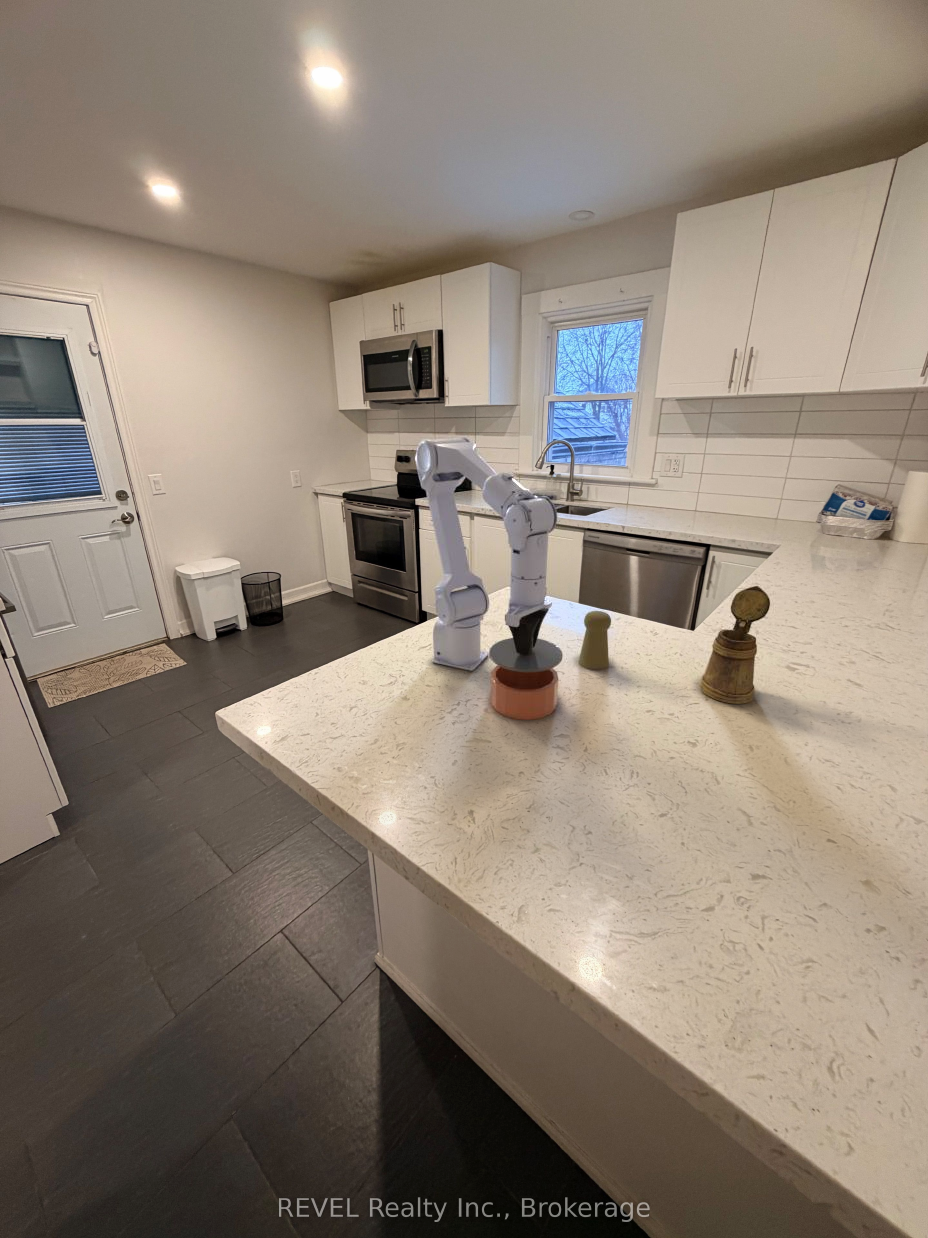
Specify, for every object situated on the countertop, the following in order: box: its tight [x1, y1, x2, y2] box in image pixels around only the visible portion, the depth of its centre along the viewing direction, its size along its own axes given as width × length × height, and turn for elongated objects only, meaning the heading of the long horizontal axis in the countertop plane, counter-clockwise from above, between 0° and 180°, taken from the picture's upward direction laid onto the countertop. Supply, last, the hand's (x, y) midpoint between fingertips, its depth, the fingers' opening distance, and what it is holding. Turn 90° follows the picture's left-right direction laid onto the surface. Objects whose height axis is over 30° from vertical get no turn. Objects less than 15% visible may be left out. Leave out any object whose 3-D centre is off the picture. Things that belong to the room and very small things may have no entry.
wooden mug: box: [699, 585, 771, 705], centre depth 89 cm, size 9×14×18 cm, turn 140°
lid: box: [488, 637, 564, 672], centre depth 85 cm, size 13×13×4 cm
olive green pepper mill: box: [578, 610, 612, 670], centre depth 100 cm, size 6×6×11 cm
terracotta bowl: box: [490, 664, 559, 721], centre depth 88 cm, size 12×12×5 cm
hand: (525, 649), depth 85 cm, fingers closed on lid, 2 cm apart
